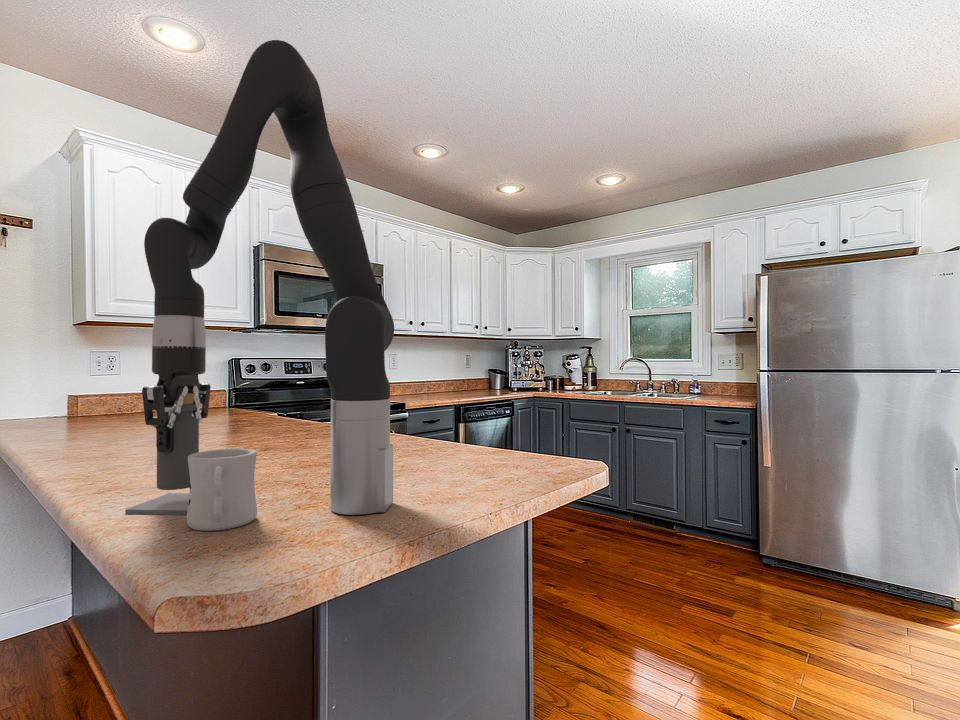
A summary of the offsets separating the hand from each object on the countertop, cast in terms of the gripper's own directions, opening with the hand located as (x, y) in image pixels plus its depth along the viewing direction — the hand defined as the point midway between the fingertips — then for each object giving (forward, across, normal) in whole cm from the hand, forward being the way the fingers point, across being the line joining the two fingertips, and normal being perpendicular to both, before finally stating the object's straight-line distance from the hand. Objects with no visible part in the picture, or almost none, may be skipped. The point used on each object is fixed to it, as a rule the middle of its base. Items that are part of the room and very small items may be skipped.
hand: (178, 448), depth 83 cm
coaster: (+9, 0, 0) cm, 9 cm away
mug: (+9, -10, -13) cm, 19 cm away
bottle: (+6, 0, 0) cm, 6 cm away
